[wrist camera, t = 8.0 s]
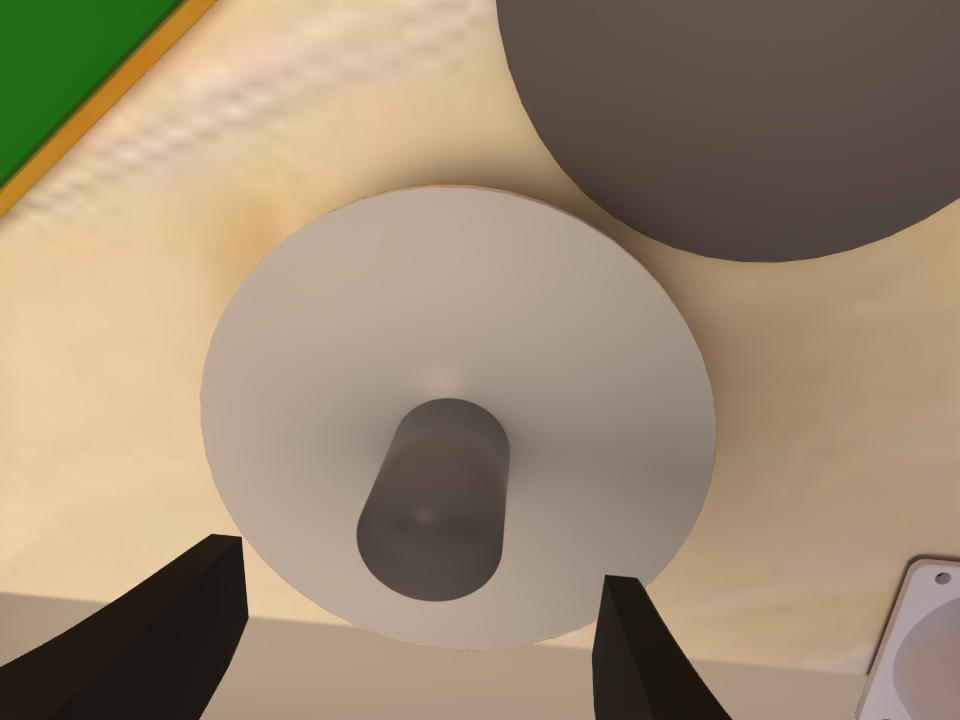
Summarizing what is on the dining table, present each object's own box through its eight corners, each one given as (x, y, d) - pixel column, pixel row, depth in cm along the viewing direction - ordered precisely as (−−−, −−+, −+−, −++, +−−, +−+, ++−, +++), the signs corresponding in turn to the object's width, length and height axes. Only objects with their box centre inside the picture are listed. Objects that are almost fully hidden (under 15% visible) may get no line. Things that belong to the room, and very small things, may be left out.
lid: (762, 210, 16) (849, 255, 11) (659, 655, 21) (692, 803, 17) (193, 160, 17) (67, 184, 12) (229, 603, 22) (150, 733, 17)
